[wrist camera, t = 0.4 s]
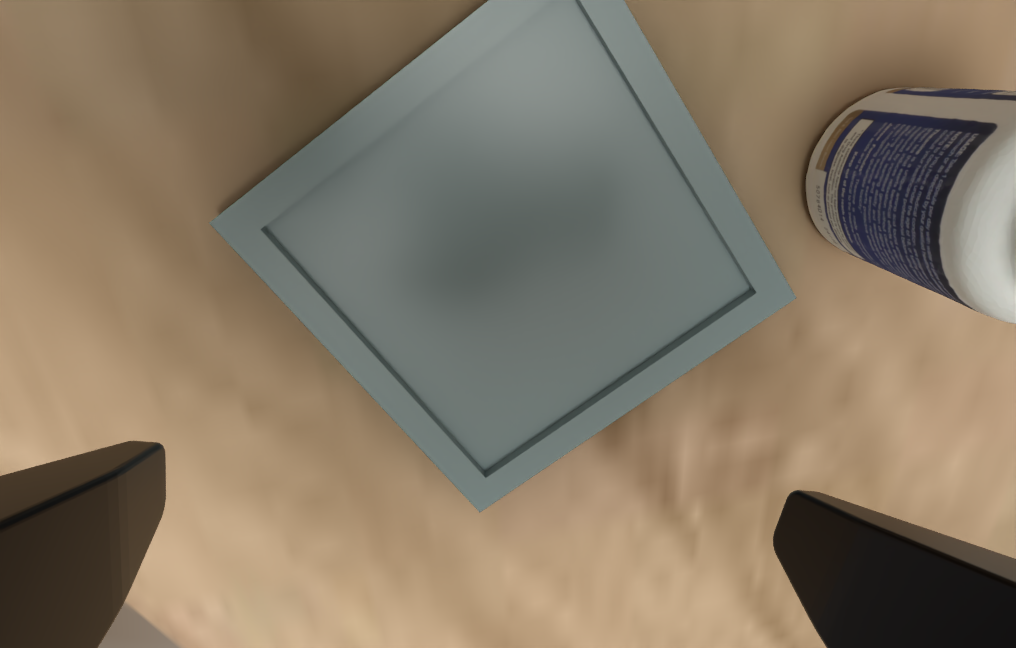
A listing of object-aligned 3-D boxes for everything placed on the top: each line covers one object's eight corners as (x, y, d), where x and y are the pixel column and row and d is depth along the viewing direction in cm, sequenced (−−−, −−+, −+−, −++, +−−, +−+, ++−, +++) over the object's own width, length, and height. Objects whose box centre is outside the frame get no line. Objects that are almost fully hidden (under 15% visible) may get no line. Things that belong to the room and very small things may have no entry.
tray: (219, 215, 20) (209, 222, 19) (573, -67, 19) (581, -74, 18) (477, 495, 25) (479, 512, 24) (781, 288, 23) (796, 298, 22)
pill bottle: (835, 282, 23) (1092, 420, 14) (773, 149, 21) (1025, 211, 12) (977, 195, 23) (1339, 282, 14) (927, 50, 21) (1309, 40, 12)
